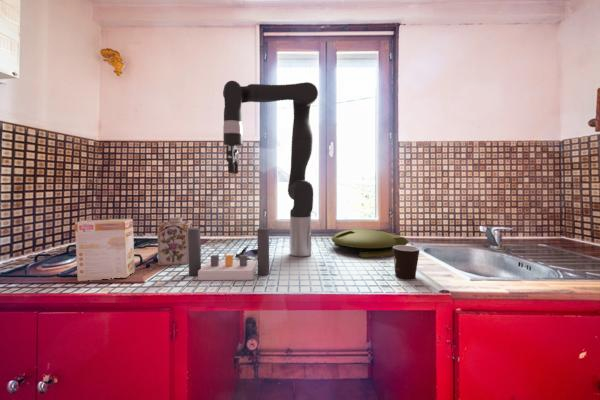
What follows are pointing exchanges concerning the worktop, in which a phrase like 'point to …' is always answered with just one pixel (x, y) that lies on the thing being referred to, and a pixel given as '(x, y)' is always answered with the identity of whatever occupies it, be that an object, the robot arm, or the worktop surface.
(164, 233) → the decorative jar
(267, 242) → the post
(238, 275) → the switch panel
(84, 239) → the coffeecake box
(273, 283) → the worktop surface
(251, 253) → the sunglasses
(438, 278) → the worktop surface
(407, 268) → the coffee mug
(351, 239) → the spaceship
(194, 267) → the post
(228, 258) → the middle paddle
